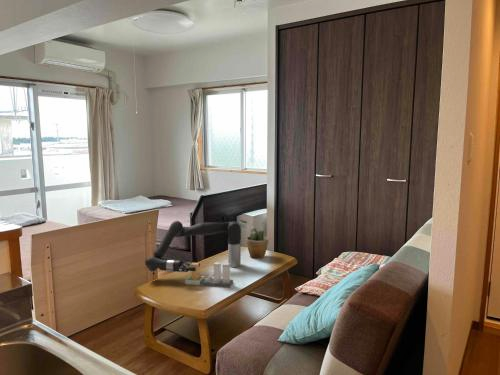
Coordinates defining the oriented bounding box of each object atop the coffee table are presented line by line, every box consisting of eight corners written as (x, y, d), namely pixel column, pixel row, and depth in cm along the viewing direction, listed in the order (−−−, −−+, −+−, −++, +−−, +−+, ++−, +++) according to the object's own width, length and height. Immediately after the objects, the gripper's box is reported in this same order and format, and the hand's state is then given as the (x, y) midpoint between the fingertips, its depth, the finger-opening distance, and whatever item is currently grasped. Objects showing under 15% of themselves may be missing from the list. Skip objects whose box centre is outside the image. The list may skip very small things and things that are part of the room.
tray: (190, 279, 256) (190, 274, 255) (204, 280, 254) (204, 275, 253) (185, 284, 246) (185, 280, 246) (199, 285, 244) (199, 281, 244)
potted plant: (241, 258, 302) (241, 227, 299) (254, 252, 317) (253, 223, 314) (260, 262, 291) (260, 230, 288) (272, 255, 307) (272, 225, 304)
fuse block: (205, 280, 253) (205, 274, 253) (233, 282, 249) (233, 276, 249) (201, 285, 244) (201, 279, 244) (229, 287, 241) (229, 281, 240)
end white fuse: (224, 280, 247) (223, 262, 246) (230, 281, 247) (229, 263, 245) (222, 282, 244) (222, 264, 243) (228, 282, 243) (228, 264, 242)
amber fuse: (193, 280, 252) (192, 262, 250) (198, 280, 251) (198, 263, 250) (191, 281, 249) (191, 264, 247) (197, 282, 248) (196, 264, 246)
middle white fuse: (215, 279, 249) (215, 262, 247) (221, 280, 248) (220, 262, 246) (213, 281, 245) (213, 263, 244) (219, 282, 245) (219, 264, 243)
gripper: (178, 267, 259) (201, 269, 256) (170, 274, 245) (193, 276, 242) (178, 257, 258) (200, 258, 255) (169, 263, 244) (193, 265, 241)
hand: (197, 267), depth 248 cm, fingers open, 8 cm apart
